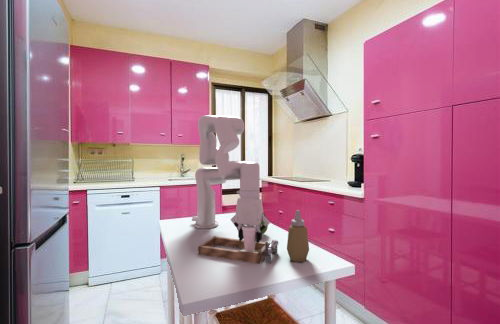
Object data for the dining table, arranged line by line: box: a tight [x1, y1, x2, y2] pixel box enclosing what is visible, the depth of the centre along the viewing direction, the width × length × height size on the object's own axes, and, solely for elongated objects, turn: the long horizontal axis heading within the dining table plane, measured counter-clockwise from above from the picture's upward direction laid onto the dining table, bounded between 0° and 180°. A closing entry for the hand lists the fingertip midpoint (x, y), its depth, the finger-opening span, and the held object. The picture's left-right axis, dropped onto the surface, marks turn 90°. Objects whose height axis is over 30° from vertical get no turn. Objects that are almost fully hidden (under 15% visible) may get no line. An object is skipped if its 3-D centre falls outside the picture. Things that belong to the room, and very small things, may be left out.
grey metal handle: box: [264, 239, 279, 264], centre depth 93 cm, size 2×12×8 cm, turn 160°
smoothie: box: [242, 225, 257, 253], centre depth 97 cm, size 6×6×14 cm
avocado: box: [261, 211, 269, 235], centre depth 120 cm, size 8×8×12 cm
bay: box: [197, 236, 271, 265], centre depth 99 cm, size 25×13×3 cm, turn 70°
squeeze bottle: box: [286, 209, 310, 263], centre depth 92 cm, size 8×8×18 cm
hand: (249, 240), depth 97 cm, fingers closed on smoothie, 6 cm apart
